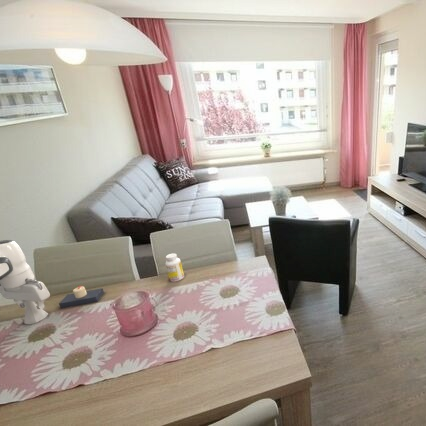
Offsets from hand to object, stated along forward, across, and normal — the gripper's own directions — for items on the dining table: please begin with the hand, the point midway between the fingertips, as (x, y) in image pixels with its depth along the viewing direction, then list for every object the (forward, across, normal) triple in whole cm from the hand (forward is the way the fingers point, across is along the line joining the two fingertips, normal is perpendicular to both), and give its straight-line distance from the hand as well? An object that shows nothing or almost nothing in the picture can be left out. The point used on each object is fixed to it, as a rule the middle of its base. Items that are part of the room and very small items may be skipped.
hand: (32, 307), depth 119 cm
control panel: (+6, -8, -13) cm, 16 cm away
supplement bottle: (+7, -40, -35) cm, 53 cm away
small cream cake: (+3, -8, -13) cm, 16 cm away
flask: (+6, +1, 0) cm, 6 cm away
